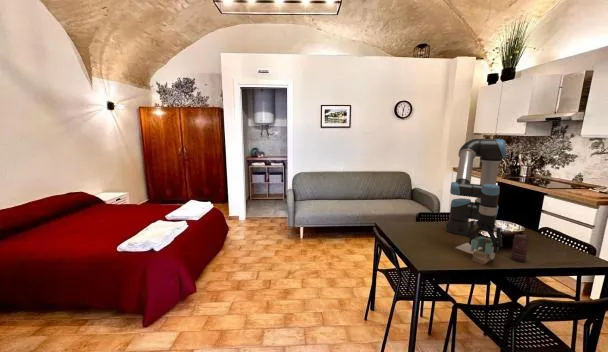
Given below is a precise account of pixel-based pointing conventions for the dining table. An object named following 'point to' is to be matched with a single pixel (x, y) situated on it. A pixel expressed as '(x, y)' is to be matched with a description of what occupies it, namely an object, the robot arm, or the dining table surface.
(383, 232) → the dining table surface
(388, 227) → the dining table surface
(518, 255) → the can
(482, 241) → the c link
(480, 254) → the hook stand
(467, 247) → the felt mat
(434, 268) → the dining table surface
